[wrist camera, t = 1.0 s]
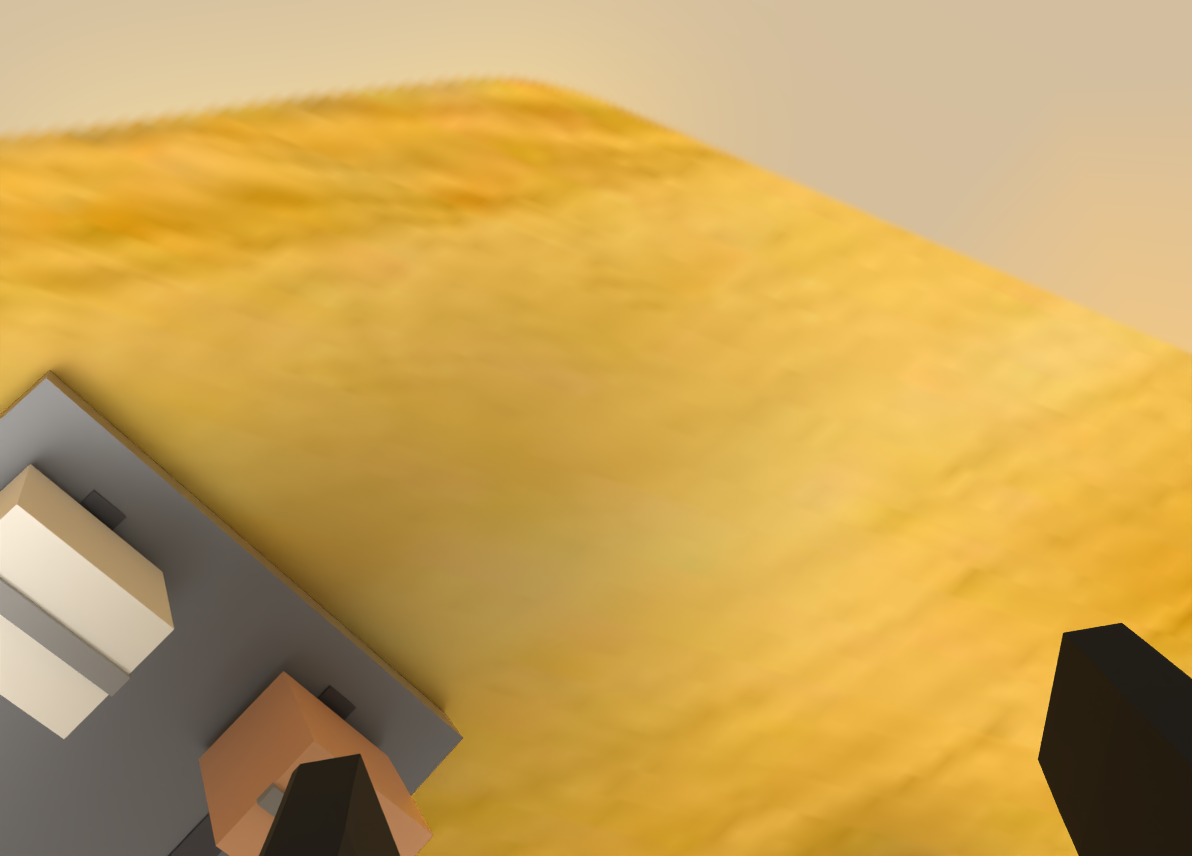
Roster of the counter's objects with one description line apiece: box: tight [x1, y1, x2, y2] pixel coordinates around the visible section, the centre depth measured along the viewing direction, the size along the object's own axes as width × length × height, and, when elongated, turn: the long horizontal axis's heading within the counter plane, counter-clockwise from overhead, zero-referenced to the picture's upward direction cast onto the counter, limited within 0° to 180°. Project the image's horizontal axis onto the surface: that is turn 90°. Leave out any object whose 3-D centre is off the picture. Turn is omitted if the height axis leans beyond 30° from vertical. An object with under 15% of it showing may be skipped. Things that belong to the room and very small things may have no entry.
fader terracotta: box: [199, 671, 433, 856], centre depth 21 cm, size 2×3×4 cm
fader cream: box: [0, 464, 174, 739], centre depth 19 cm, size 2×3×4 cm
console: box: [0, 370, 463, 856], centre depth 22 cm, size 15×12×2 cm
